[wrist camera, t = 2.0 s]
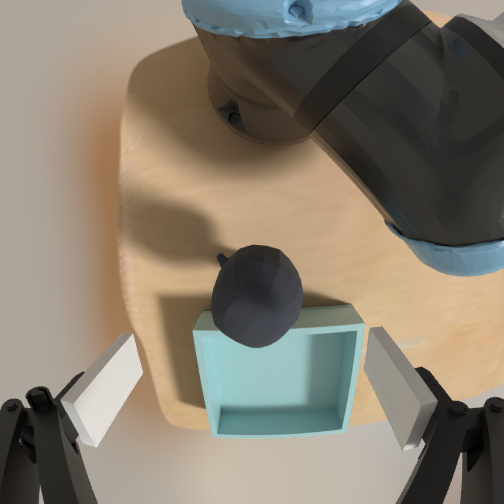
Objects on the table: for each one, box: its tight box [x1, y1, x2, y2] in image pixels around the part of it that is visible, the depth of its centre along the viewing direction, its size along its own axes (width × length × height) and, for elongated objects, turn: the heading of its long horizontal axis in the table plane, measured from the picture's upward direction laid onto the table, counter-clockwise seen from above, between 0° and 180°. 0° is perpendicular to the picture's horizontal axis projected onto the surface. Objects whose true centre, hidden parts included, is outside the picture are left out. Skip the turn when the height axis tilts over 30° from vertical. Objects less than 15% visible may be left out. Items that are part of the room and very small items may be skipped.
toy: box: [210, 245, 304, 348], centre depth 26 cm, size 9×8×15 cm
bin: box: [192, 304, 365, 439], centre depth 34 cm, size 18×19×6 cm
